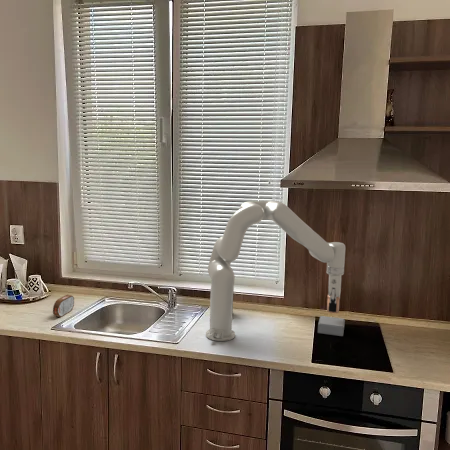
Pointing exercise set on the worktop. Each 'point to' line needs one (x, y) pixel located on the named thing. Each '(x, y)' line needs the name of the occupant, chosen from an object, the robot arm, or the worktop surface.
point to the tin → (63, 305)
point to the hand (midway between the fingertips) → (332, 309)
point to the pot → (336, 302)
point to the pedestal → (331, 325)
